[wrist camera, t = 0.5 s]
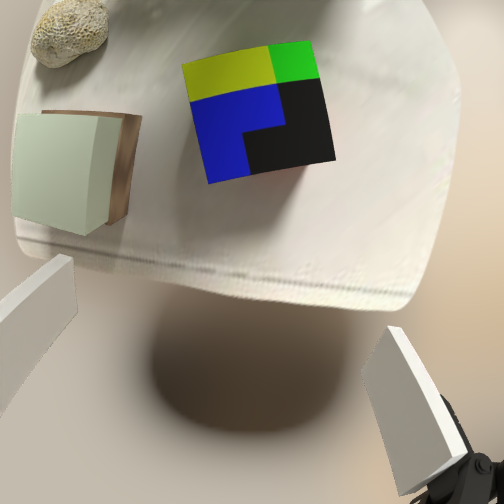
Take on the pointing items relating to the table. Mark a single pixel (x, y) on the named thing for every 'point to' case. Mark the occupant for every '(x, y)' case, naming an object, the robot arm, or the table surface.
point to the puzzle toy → (259, 110)
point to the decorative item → (69, 31)
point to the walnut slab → (117, 159)
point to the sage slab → (64, 170)
